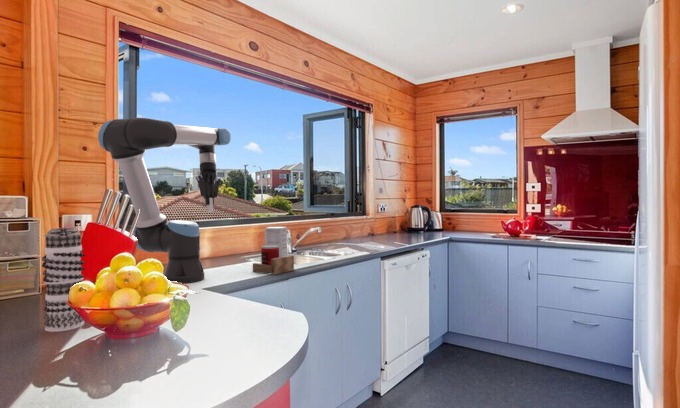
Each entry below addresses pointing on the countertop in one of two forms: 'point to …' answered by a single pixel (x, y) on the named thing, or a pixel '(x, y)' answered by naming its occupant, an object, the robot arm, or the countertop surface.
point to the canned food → (269, 253)
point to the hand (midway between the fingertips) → (210, 211)
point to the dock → (276, 265)
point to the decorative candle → (62, 277)
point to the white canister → (277, 238)
